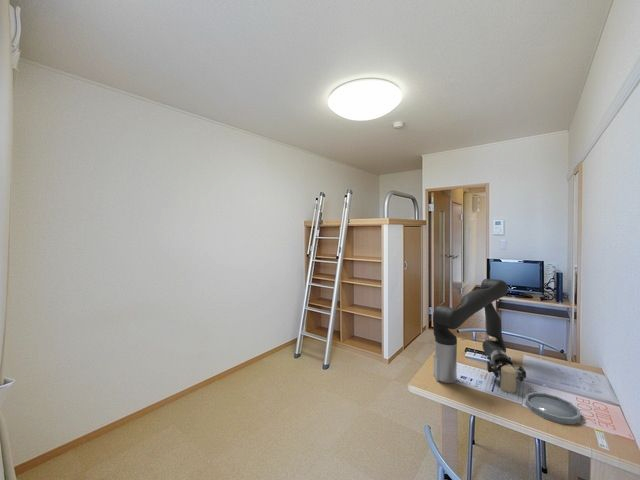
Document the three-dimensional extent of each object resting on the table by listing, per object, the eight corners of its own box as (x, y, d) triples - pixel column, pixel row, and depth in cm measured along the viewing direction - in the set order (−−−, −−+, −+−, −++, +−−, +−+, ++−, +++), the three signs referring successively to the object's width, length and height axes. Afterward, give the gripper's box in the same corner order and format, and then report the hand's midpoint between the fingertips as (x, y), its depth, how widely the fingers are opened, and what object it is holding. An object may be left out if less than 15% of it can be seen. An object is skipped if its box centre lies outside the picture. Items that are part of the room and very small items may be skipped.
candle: (516, 394, 118) (516, 370, 118) (500, 390, 121) (501, 367, 121) (515, 387, 123) (516, 365, 123) (500, 384, 126) (500, 362, 126)
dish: (542, 422, 101) (542, 416, 101) (517, 395, 117) (517, 391, 117) (592, 425, 99) (592, 420, 99) (560, 398, 115) (560, 393, 115)
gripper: (484, 350, 138) (490, 365, 123) (518, 355, 133) (529, 371, 117) (483, 366, 138) (490, 382, 123) (518, 371, 133) (529, 389, 118)
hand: (509, 377), depth 120 cm, fingers open, 8 cm apart
